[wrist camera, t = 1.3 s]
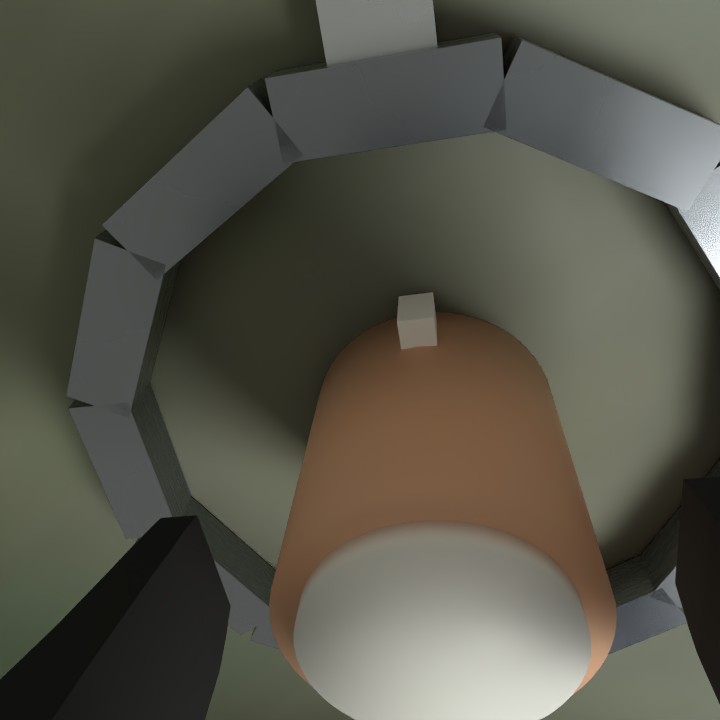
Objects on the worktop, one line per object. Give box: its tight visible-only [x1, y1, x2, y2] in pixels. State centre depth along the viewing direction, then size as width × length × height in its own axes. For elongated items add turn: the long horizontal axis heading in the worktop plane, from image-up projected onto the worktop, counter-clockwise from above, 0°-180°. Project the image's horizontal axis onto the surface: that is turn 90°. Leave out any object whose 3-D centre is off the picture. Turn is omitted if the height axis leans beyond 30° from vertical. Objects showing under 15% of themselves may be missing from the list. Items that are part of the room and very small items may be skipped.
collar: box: [66, 0, 720, 654], centre depth 13 cm, size 17×13×1 cm
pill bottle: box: [269, 292, 617, 720], centre depth 11 cm, size 6×5×5 cm
